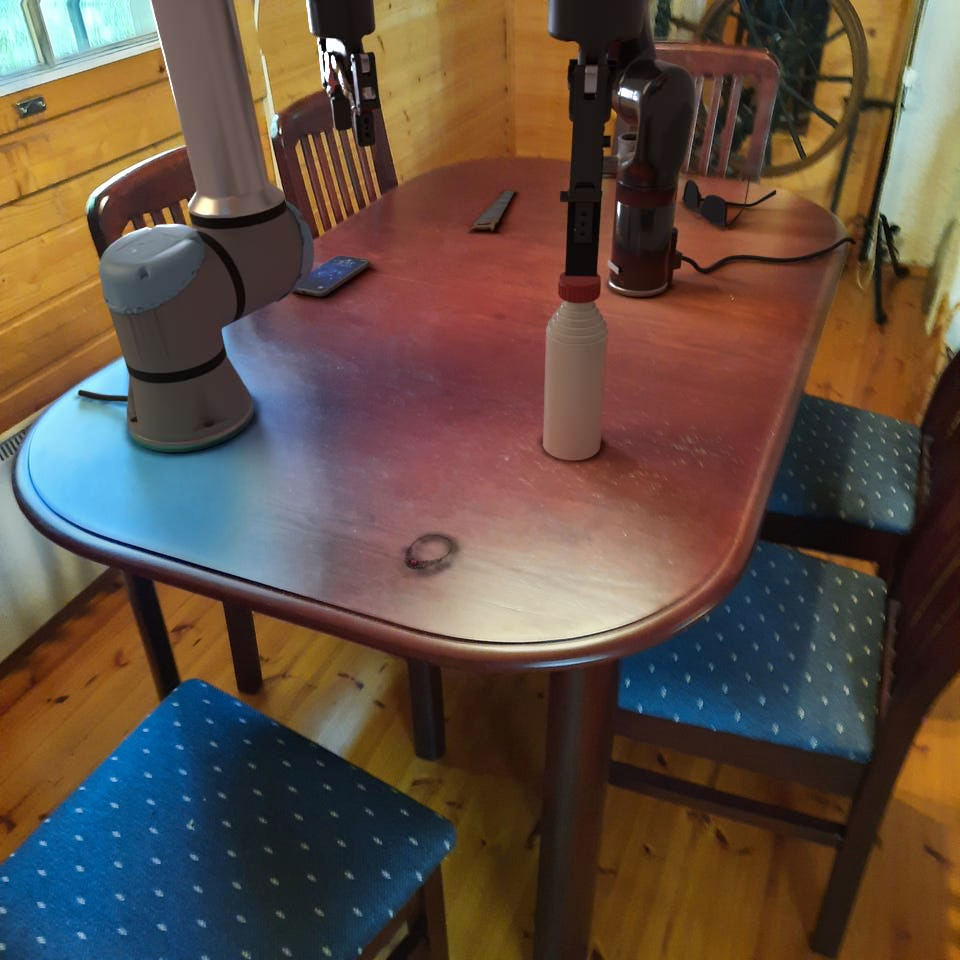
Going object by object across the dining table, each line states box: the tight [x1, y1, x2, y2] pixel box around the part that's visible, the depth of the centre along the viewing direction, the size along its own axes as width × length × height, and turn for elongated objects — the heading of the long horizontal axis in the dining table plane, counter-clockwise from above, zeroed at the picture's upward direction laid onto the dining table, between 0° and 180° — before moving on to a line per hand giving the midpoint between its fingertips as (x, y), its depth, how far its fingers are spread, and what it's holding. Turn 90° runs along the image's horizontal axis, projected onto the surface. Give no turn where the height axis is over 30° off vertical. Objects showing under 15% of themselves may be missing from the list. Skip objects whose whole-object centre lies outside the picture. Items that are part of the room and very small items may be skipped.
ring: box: [403, 533, 453, 570], centre depth 87 cm, size 4×6×1 cm
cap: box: [557, 271, 602, 303], centre depth 90 cm, size 4×4×2 cm
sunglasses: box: [681, 175, 777, 228], centre depth 163 cm, size 17×14×5 cm
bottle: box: [542, 300, 610, 462], centre depth 96 cm, size 7×7×21 cm
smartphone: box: [292, 254, 372, 298], centre depth 143 cm, size 7×1×15 cm
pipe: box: [602, 131, 637, 176], centre depth 181 cm, size 6×13×8 cm, turn 95°
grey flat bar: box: [470, 189, 515, 232], centre depth 168 cm, size 24×5×1 cm, turn 168°
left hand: (583, 245), depth 79 cm, fingers open, 13 cm apart
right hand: (354, 137), depth 106 cm, fingers open, 8 cm apart
